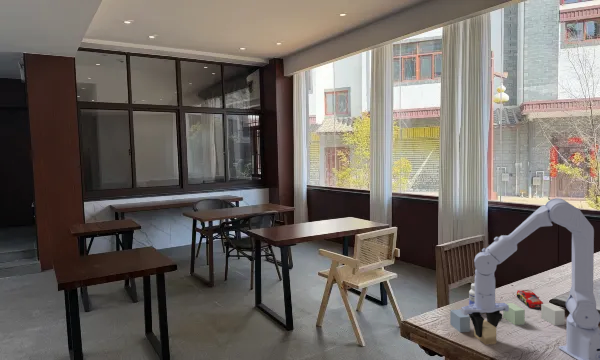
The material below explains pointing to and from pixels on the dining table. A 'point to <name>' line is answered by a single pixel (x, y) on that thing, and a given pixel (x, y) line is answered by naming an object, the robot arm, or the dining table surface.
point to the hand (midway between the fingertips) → (484, 335)
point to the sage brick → (514, 314)
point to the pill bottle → (472, 295)
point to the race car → (529, 298)
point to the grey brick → (552, 314)
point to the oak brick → (487, 333)
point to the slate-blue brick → (459, 320)
